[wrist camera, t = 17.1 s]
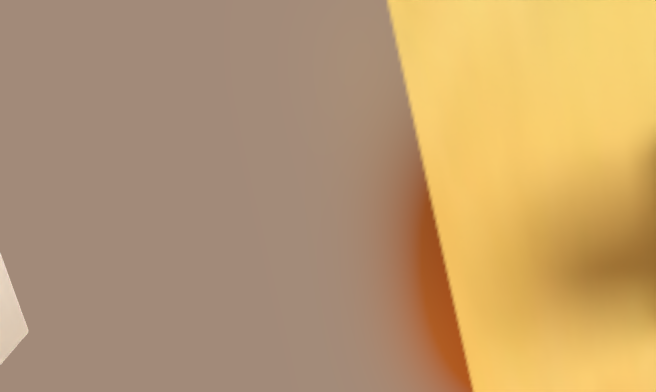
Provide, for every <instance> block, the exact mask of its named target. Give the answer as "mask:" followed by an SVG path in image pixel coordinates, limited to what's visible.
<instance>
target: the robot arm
mask: <svg viewBox="0 0 656 392" xmlns="http://www.w3.org/2000/svg"><path fill="white" fill-rule="evenodd" d="M28 332H29V331H28V328H27V325H26V323H25V320H24V317H23V314H22V312H21V309H20V306H19V303H18V300H17V298H16V295H15V292H14V289H13V287H12V284H11V281H10V278H9V276H8V273H7V270H6V267H5V265H4V262H3V259H2V256H1V253H0V365H1V363H2V362H3V361H4V360H5V359H6V358H7V356H8V355H9V354H10V353H11V352H12V351H13V350H14V348H15V347H16V346H17V345H18V344H19V343H20V341H21V340H22V339H23V338H24V337H25V336H26V334H27V333H28Z"/></svg>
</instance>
